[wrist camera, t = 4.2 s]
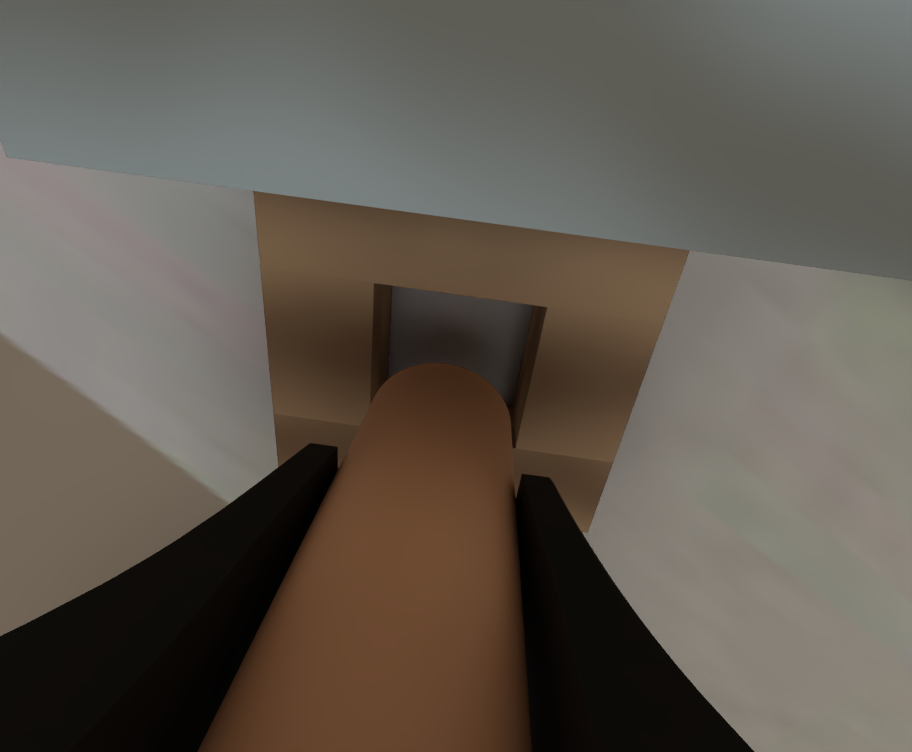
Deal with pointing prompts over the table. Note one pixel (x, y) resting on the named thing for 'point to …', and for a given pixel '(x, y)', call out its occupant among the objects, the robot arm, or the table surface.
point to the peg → (398, 592)
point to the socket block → (489, 169)
